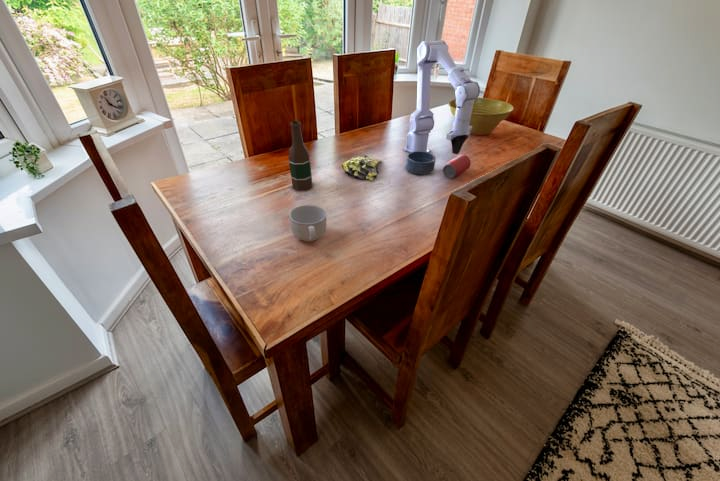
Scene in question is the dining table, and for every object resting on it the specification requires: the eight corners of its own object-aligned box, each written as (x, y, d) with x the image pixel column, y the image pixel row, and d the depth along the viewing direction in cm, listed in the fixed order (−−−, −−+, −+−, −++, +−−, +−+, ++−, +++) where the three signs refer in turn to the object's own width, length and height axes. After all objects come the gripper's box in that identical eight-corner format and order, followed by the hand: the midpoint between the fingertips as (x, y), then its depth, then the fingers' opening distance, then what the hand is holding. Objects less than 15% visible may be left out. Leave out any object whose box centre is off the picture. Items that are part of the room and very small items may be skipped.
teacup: (293, 225, 102) (290, 204, 97) (328, 224, 103) (326, 202, 98) (289, 254, 91) (286, 231, 86) (328, 252, 92) (326, 229, 87)
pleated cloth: (357, 158, 145) (362, 144, 142) (388, 175, 142) (394, 161, 138) (335, 168, 130) (339, 153, 126) (369, 187, 126) (374, 173, 122)
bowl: (400, 169, 135) (401, 156, 131) (417, 161, 141) (418, 149, 138) (422, 178, 128) (424, 165, 125) (439, 169, 135) (441, 157, 131)
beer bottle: (316, 183, 124) (310, 120, 110) (307, 192, 119) (300, 127, 104) (298, 180, 126) (290, 117, 112) (288, 189, 121) (279, 124, 106)
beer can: (470, 171, 132) (456, 181, 125) (456, 168, 136) (441, 178, 129) (472, 155, 129) (457, 164, 122) (457, 153, 133) (441, 162, 126)
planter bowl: (442, 120, 186) (446, 95, 178) (499, 122, 183) (506, 97, 175) (446, 140, 161) (451, 112, 153) (513, 143, 158) (521, 115, 149)
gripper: (461, 125, 113) (454, 161, 121) (482, 116, 121) (474, 151, 129) (444, 120, 117) (438, 156, 125) (465, 112, 125) (458, 146, 133)
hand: (455, 153), depth 127 cm, fingers closed
